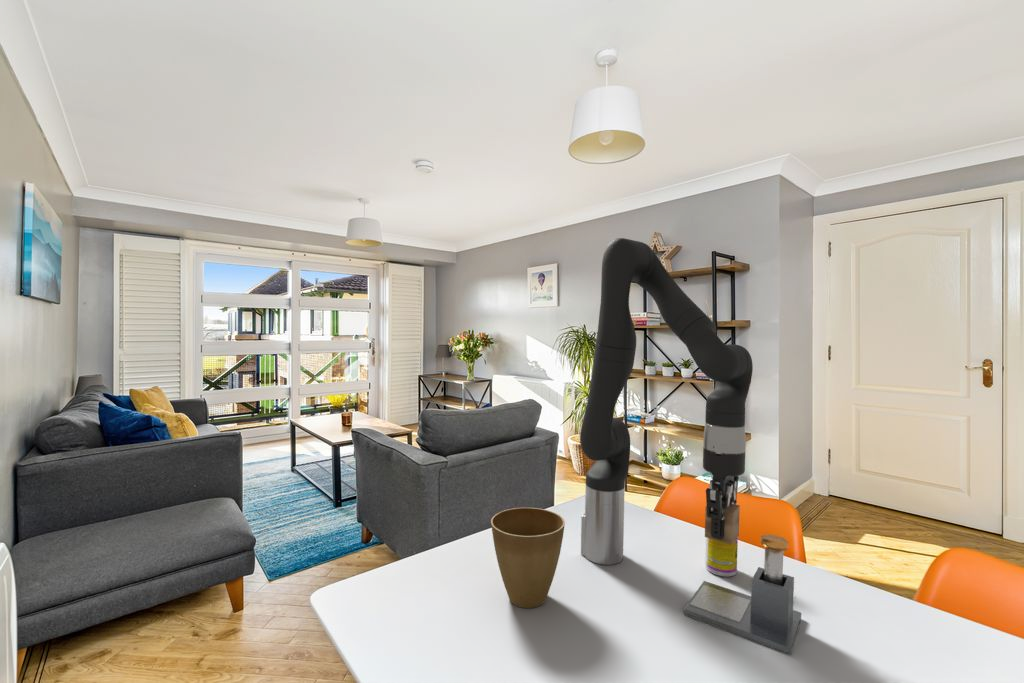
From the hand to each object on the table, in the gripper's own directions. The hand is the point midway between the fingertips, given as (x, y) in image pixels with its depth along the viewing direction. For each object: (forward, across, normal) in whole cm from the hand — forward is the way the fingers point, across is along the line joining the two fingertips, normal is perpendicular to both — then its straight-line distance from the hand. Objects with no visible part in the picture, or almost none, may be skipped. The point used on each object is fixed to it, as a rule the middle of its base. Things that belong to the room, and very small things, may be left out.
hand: (721, 532), depth 94 cm
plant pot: (+16, +21, -32) cm, 41 cm away
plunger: (+10, -1, +9) cm, 13 cm away
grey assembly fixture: (+15, 0, +4) cm, 16 cm away
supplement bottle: (+16, -16, -4) cm, 23 cm away
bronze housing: (+1, 0, 0) cm, 1 cm away
